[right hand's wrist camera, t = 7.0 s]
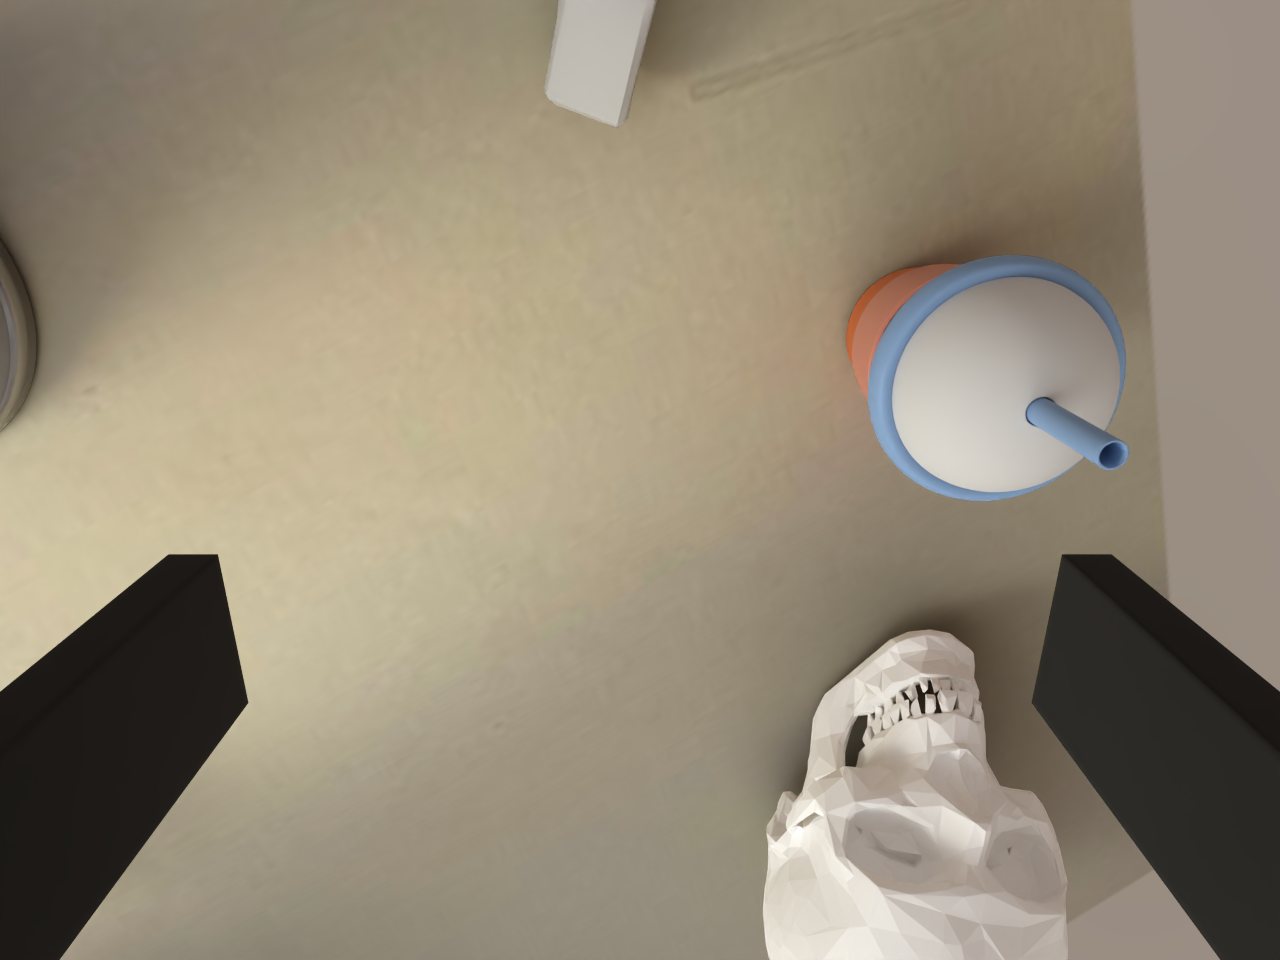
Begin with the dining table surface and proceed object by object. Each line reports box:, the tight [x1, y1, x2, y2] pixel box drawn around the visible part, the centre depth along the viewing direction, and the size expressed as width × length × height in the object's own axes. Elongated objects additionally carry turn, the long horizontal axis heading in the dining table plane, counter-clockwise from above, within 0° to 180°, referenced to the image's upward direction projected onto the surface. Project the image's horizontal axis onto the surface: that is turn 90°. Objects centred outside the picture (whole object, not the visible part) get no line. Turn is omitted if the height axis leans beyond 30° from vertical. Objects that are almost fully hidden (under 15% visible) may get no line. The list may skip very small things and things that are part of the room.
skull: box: [763, 629, 1068, 960], centre depth 41 cm, size 13×22×16 cm, turn 175°
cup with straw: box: [846, 255, 1129, 501], centre depth 31 cm, size 9×9×18 cm
